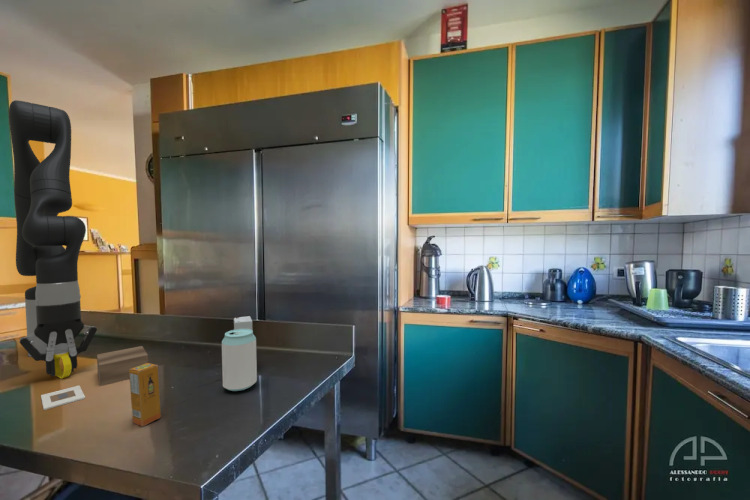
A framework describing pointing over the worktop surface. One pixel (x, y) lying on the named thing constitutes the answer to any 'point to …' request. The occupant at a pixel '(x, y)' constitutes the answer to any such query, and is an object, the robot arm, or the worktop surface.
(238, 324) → the skincare box
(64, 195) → the robot arm
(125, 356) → the walnut block
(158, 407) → the supplement box
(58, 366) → the watch
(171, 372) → the worktop surface
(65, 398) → the card
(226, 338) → the can
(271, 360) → the worktop surface
